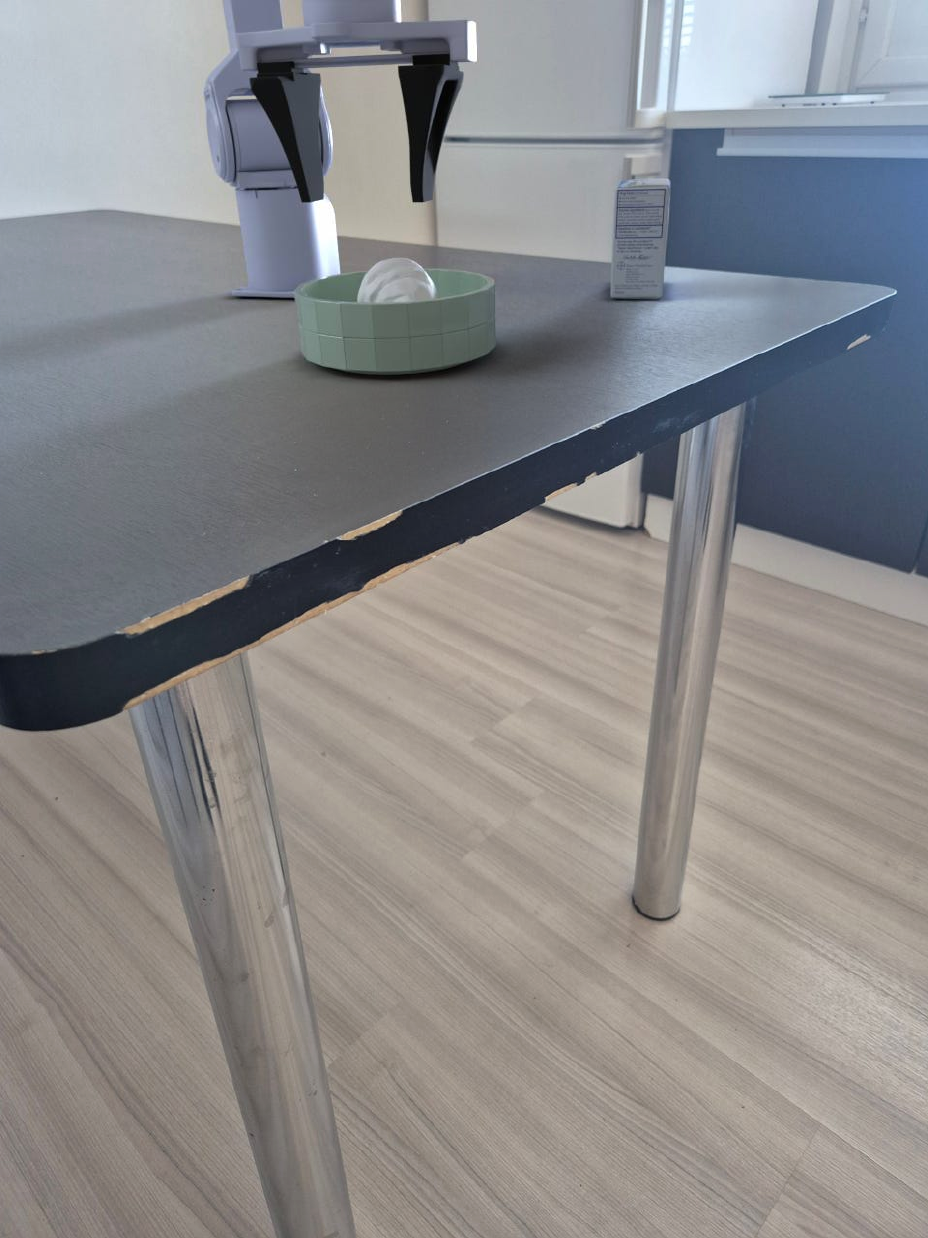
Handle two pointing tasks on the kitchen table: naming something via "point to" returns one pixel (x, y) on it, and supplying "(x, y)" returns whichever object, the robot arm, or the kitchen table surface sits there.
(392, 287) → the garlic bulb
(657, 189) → the medicine box
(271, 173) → the robot arm
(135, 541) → the kitchen table surface
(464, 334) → the bowl
